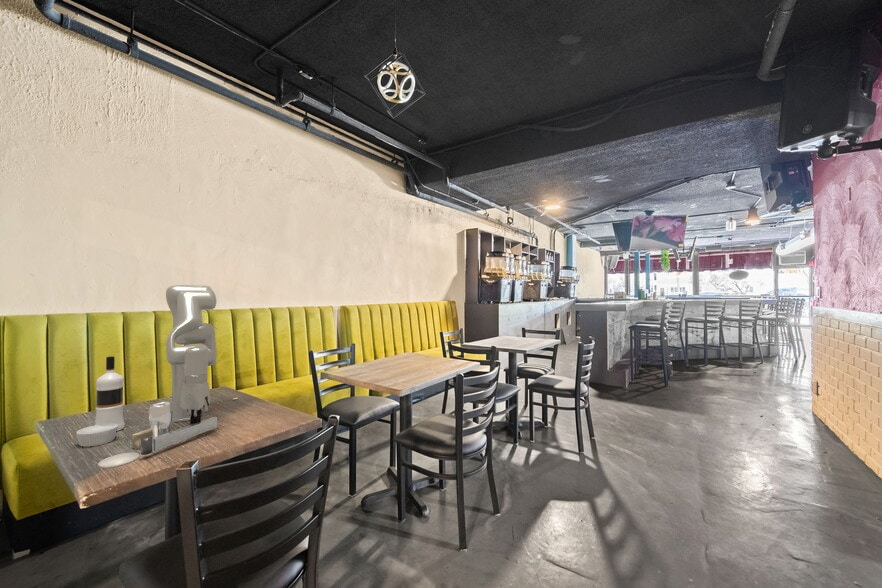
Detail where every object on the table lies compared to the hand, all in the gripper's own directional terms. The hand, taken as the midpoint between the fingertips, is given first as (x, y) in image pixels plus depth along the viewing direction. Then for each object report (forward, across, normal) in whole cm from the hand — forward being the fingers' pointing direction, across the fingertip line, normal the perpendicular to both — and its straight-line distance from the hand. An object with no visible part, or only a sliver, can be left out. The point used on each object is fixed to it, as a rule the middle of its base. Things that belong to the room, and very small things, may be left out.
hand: (195, 425), depth 141 cm
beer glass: (+4, -3, -11) cm, 12 cm away
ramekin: (+4, -29, -14) cm, 33 cm away
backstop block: (+4, -9, -11) cm, 15 cm away
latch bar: (+2, +2, -8) cm, 8 cm away
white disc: (+4, -4, -24) cm, 25 cm away
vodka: (+4, -38, -4) cm, 39 cm away
